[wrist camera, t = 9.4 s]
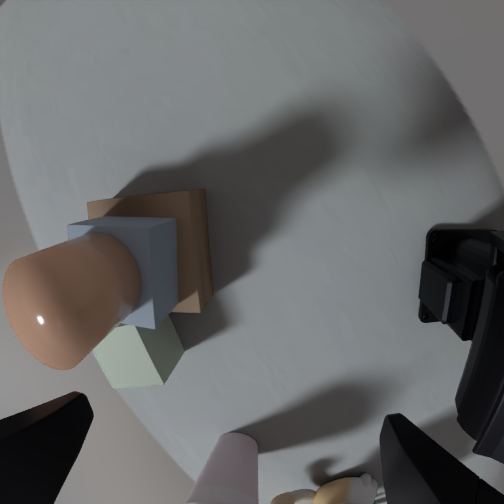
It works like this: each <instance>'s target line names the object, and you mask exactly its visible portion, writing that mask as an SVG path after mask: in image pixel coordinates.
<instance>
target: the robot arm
mask: <svg viewBox="0 0 504 504" xmlns="http://www.w3.org/2000/svg"><path fill="white" fill-rule="evenodd" d="M434 234H435V235H436V238H435V240H432V236H433V235H434ZM419 299H420V307H419V314H418V317H419V319H420V320H421V322H423V323H430V322H439V321H441V322H442V323H443V324H447V325H448V326H449V327H450V328H451V329H452V330H453V331H454V332H455V333H456V334H457V335H458V336H459V337H460V339H461V340H462V341H467V340H471V342H472V343H471V347H470V351H469V354H468V358H467V361H466V365H465V368H464V371H463V374H462V377H461V380H460V383H459V386H458V389H457V393H456V397H455V402H456V407H457V412H458V416H457V421H458V423H459V424H460V426H461V427H462V429H463V430H464V431H465V432H466V433H467V434H468V435H470V436H471V437H472V438H473V439H474V440H476V441H477V442H476V444H475V446H474V447H473V449H472V451H473V453H475V454H478V455H482V456H487V457H491V458H493V459H495V460H497V461H499V462H501V463H503V464H504V231H496V230H488V229H432V230H430V231H428V233H427V236H426V249H425V260H424V261H423V263H422V269H421V279H420V288H419ZM426 313H428V314H427V316H426V317H423V316H424V315H425V314H426ZM93 417H94V415H93V410H92V408H91V406H90V403H89V401H88V398H87V396H86V395H85V394H83V393H80V392H75V391H74V392H71V393H69V394H66V395H64V396H61V397H59V398H56V399H54V400H51V401H49V402H46V403H43V404H41V405H38V406H36V407H33V408H31V409H28V410H25V411H23V412H20V413H17V414H15V415H12V416H9V417H7V418H3V419H1V420H0V504H54V502H55V500H56V498H57V496H58V494H59V492H60V490H61V488H62V486H63V484H64V482H65V480H66V478H67V476H68V474H69V472H70V470H71V468H72V466H73V464H74V462H75V461H76V459H77V457H78V454H79V452H80V450H81V448H82V445H83V443H84V440H85V437H86V435H87V433H88V430H89V428H90V425H91V423H92V420H93ZM380 450H381V460H382V471H383V482H384V489H385V494H386V499H387V504H504V495H503V494H502V493H500V492H499V491H497V490H496V489H495V488H493V487H492V486H490V485H489V484H488V483H487V482H485V481H484V480H483V479H480V478H479V476H477V475H476V474H475V473H474V472H472V471H471V470H470V469H469V468H467V467H466V466H465V465H464V464H462V463H461V462H460V461H459V460H457V459H456V458H455V457H454V456H452V455H451V454H450V453H449V452H447V451H446V450H445V449H444V448H442V447H441V446H440V445H439V444H437V443H436V442H435V441H434V440H433V439H431V438H430V437H429V436H428V435H426V434H425V433H424V432H423V431H422V430H420V429H419V428H418V427H417V426H416V425H414V424H413V423H412V422H411V421H409V420H408V419H407V418H406V417H405V416H403V415H402V414H400V413H396V414H388V415H387V416H386V417H385V419H384V422H383V426H382V429H381V433H380Z"/></svg>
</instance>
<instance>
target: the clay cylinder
mask: <svg viewBox="0 0 504 504" xmlns="http://www.w3.org/2000/svg"><path fill="white" fill-rule="evenodd" d="M2 288H3V290H2V293H3V302H4V307H5V311H6V315H7V318H8V320H9V323H10V325H11V327H12V329H13V331H14V333H15V335H16V336H17V338H18V339H19V341H20V342H21V344H22V345H23V346H24V347H25V348H26V350H27V351H28V352H29V353H30V354H31V355H32V356H33V357H34V358H36V359H37V360H38V361H40V362H41V363H43V364H44V365H47V366H48V367H50V368H53V369H57V370H68V369H71V368H74V367H75V366H76V365H77V364H78V363H79V362H80V361H81V360H83V358H84V357H86V356H87V355H88V354H89V353H90V352H91V351H92V350H93V349H94V348H95V347H96V346H97V345H98V344H99V343H100V342H101V341H102V340H103V339H104V338H105V337H106V336H107V335H109V334H110V333H111V332H112V331H113V330H114V329H115V328H116V327H117V326H118V325H119V324H120V323H121V322H122V321H123V320H124V319H125V318H127V317H128V316H129V315H130V314H131V313H132V312H133V311H134V310H135V308H136V307H137V305H138V303H139V301H140V297H141V292H142V280H141V274H140V270H139V267H138V264H137V262H136V260H135V258H134V256H133V255H132V253H131V252H130V251H129V249H128V248H127V247H126V246H125V245H124V244H123V243H122V242H121V241H120V240H118V239H117V238H115V237H113V236H111V235H109V234H106V233H102V232H93V233H89V234H86V235H83V236H80V237H77V238H74V239H71V240H68V241H65V242H63V243H60V244H57V245H54V246H51V247H49V248H46V249H43V250H41V251H38V252H35V253H33V254H30V255H27V256H25V257H22V258H20V259H17V260H15V261H14V262H12V263H11V264H10V266H9V267H8V269H7V270H6V273H5V276H4V279H3V287H2Z"/></svg>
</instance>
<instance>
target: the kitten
mask: <svg viewBox="0 0 504 504" xmlns="http://www.w3.org/2000/svg"><path fill="white" fill-rule="evenodd" d="M376 495H377V482H376V480H375V479H371V476H370V474H368V473H365V474H363V475H361V476H360V478H357V477H347V478H341V479H338V480H334V481H332V482H329V483H327V484H325V485H323V486H321V487H320V488H319V489H318V490H317V491H314V490H311V489H299V490H295V491H291V492H287V493H283V494H280V495H278V496H276V497H275V498H274V499H273V500H272V501H271V503H270V504H294V503H295V502H311V501H313V504H375V502H374V500H375V496H376Z"/></svg>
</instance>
